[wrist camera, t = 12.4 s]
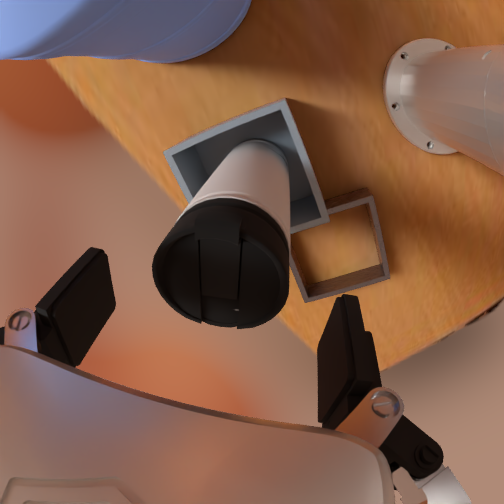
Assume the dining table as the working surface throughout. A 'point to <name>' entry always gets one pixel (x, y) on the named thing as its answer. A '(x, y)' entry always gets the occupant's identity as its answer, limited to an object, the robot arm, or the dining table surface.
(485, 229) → the dining table surface
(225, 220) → the travel mug
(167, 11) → the water jug
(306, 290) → the metal collar
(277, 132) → the grey bin
